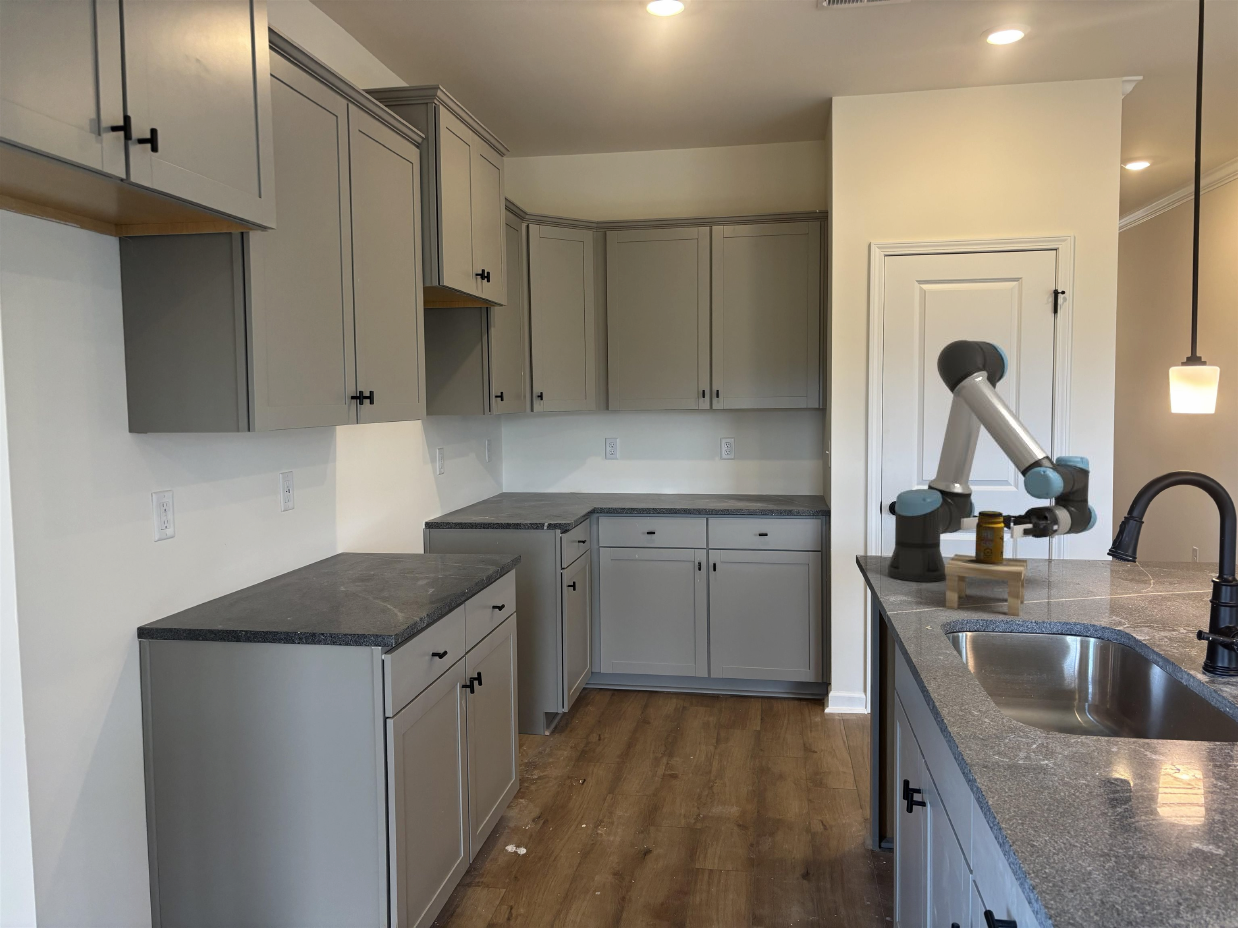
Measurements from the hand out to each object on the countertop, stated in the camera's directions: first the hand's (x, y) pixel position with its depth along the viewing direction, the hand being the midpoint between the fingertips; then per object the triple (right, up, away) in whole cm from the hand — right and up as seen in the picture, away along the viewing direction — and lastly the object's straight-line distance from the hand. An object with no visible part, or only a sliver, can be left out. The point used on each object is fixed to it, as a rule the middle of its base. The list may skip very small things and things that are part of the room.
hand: (986, 528), depth 193 cm
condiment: (+1, -8, +1) cm, 9 cm away
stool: (+1, -18, +2) cm, 18 cm away
